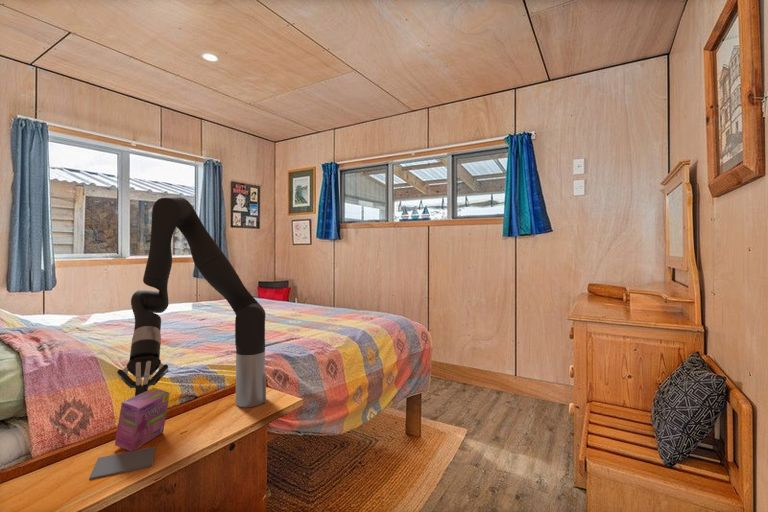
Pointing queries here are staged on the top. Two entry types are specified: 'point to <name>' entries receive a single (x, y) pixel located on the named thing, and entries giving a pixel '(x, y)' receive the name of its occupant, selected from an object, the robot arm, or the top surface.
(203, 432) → the top surface
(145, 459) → the mat
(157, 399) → the box
